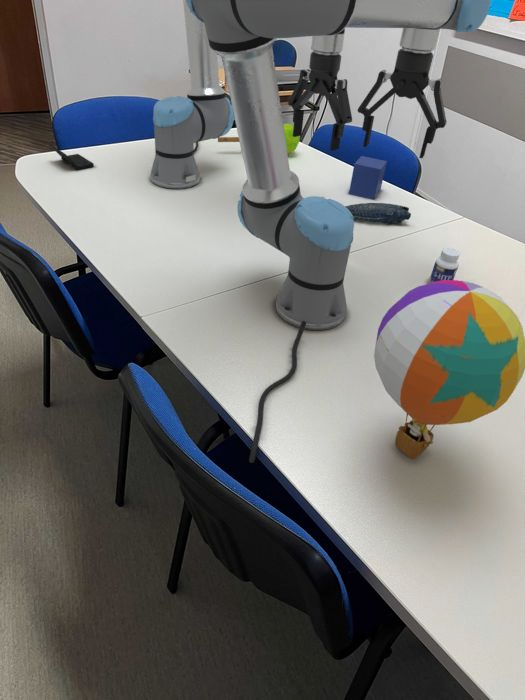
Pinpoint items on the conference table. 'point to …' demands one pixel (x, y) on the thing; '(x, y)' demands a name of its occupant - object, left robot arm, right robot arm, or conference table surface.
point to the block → (367, 177)
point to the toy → (448, 357)
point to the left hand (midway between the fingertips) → (315, 142)
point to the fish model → (379, 212)
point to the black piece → (74, 160)
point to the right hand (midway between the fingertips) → (393, 151)
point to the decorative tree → (290, 140)
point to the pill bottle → (445, 265)
